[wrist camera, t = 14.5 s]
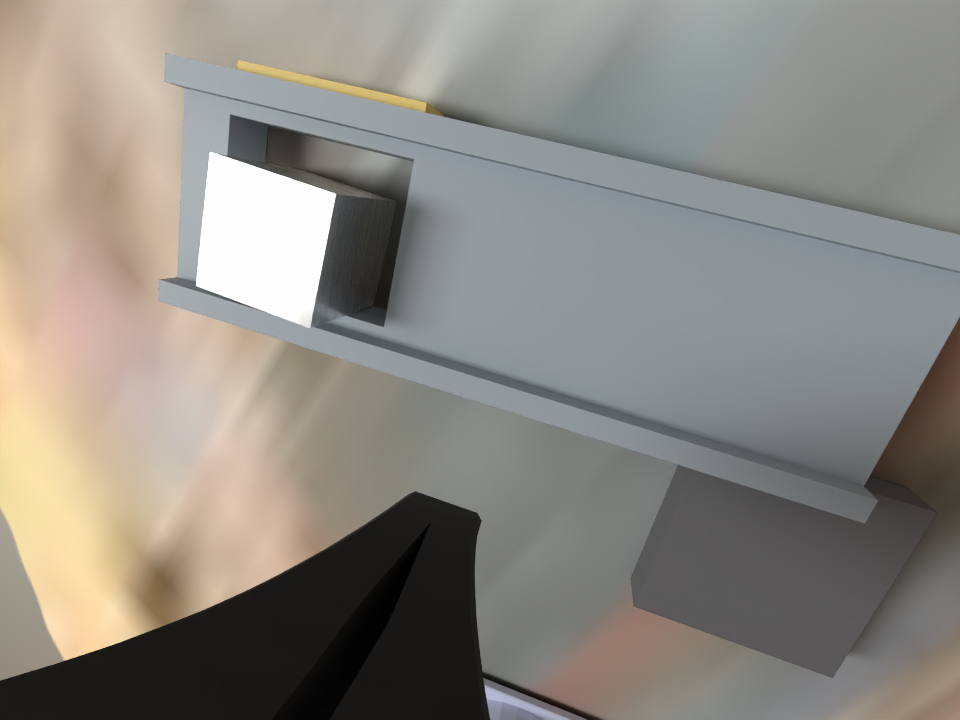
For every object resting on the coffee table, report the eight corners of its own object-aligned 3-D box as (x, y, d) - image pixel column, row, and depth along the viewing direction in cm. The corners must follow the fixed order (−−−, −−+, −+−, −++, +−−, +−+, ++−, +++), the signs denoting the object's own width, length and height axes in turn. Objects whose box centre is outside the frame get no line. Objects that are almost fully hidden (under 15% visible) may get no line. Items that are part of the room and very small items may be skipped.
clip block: (373, 305, 19) (309, 328, 15) (283, 272, 19) (195, 285, 15) (397, 201, 18) (335, 193, 13) (299, 169, 18) (210, 152, 14)
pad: (814, 643, 18) (832, 678, 17) (630, 578, 19) (633, 606, 18) (907, 487, 16) (937, 512, 15) (695, 423, 17) (704, 441, 16)
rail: (817, 486, 17) (858, 534, 14) (214, 300, 20) (158, 311, 18) (952, 231, 14) (1034, 232, 11) (229, 66, 18) (165, 38, 15)
